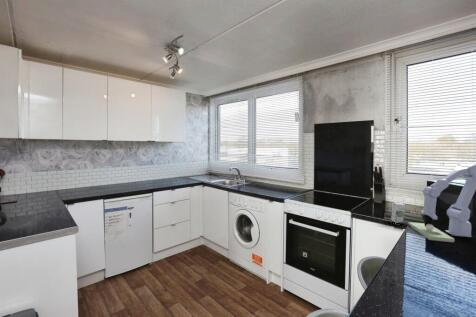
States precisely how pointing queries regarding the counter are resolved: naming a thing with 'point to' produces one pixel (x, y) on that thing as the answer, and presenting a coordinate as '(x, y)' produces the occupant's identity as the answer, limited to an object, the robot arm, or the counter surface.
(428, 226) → the golf ball
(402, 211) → the syrup box
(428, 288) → the counter surface
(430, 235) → the mat
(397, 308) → the counter surface
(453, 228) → the robot arm
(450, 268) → the counter surface
